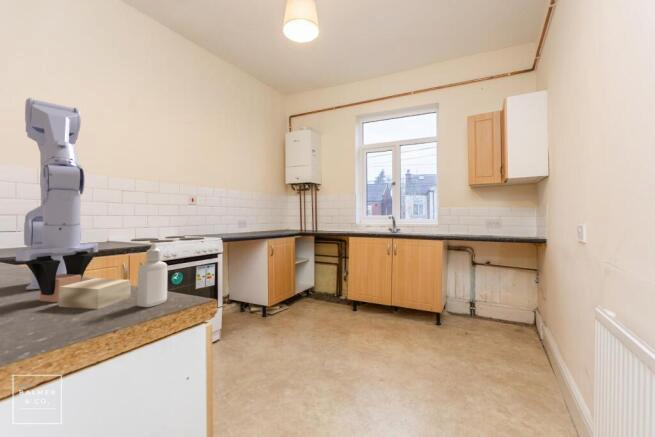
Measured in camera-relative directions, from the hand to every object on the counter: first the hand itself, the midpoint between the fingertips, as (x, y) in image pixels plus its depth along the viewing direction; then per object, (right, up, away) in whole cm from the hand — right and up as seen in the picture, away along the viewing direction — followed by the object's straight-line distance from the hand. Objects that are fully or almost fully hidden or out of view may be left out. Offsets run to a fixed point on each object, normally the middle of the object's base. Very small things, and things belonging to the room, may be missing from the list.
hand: (60, 291), depth 62 cm
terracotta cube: (0, -1, 0) cm, 1 cm away
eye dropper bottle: (+20, -2, -2) cm, 20 cm away
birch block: (+8, -2, -1) cm, 9 cm away
